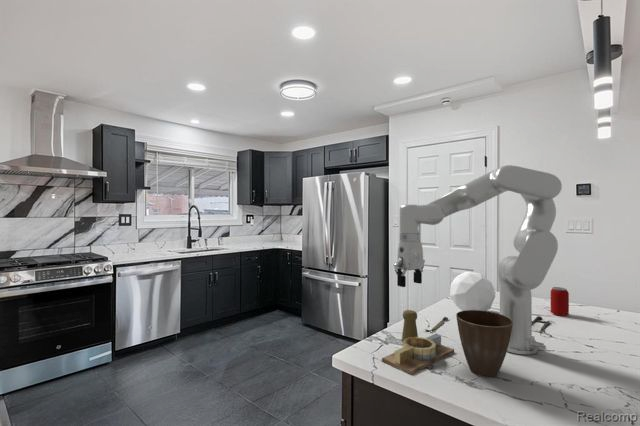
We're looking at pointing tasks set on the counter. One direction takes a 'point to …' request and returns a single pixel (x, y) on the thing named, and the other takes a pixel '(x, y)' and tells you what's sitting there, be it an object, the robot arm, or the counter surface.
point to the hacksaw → (543, 325)
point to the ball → (472, 292)
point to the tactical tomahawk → (437, 325)
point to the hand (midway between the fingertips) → (409, 284)
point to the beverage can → (559, 301)
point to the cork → (409, 324)
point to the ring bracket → (418, 349)
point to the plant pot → (484, 340)
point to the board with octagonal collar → (417, 365)
